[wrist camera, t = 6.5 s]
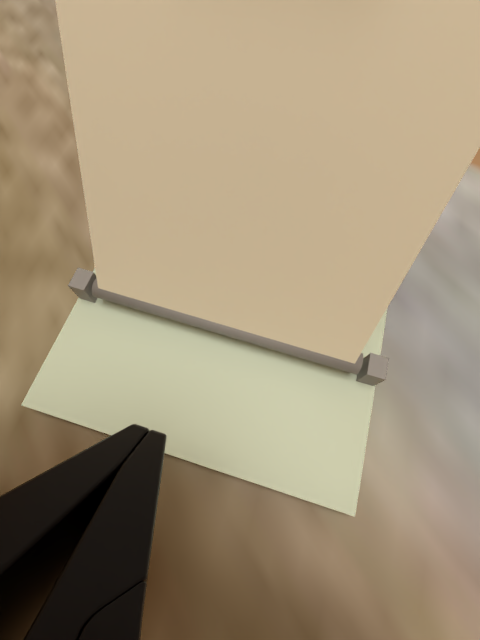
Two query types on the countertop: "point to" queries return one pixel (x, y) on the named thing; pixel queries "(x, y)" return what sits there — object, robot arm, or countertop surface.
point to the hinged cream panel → (269, 156)
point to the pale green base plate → (214, 397)
